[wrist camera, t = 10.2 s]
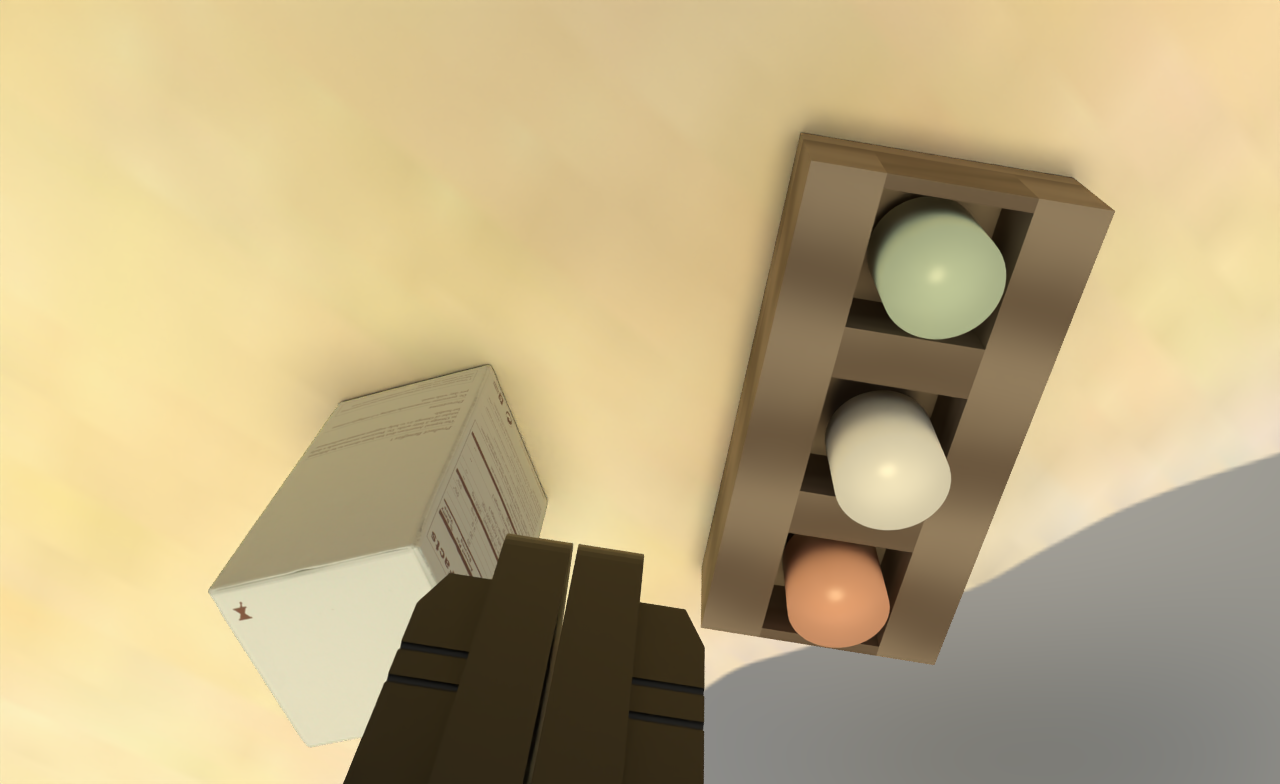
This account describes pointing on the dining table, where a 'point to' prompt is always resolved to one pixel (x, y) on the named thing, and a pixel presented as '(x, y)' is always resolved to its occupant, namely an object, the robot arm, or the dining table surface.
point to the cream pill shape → (886, 461)
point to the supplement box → (374, 541)
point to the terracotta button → (834, 591)
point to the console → (889, 381)
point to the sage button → (935, 268)
